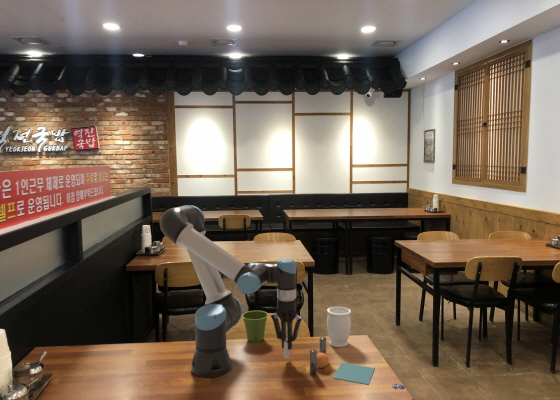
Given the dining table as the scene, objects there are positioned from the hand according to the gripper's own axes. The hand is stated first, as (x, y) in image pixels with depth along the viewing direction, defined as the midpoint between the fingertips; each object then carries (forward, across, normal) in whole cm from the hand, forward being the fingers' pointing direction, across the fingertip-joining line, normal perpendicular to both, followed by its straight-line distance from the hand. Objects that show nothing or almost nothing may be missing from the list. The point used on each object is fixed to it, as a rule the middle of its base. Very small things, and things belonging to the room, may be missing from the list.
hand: (286, 356), depth 169 cm
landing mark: (+2, +27, 0) cm, 27 cm away
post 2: (+2, +13, +6) cm, 15 cm away
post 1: (+2, +13, -6) cm, 15 cm away
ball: (-1, +14, 0) cm, 14 cm away
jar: (+2, +15, +24) cm, 28 cm away
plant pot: (+2, -21, +15) cm, 26 cm away
